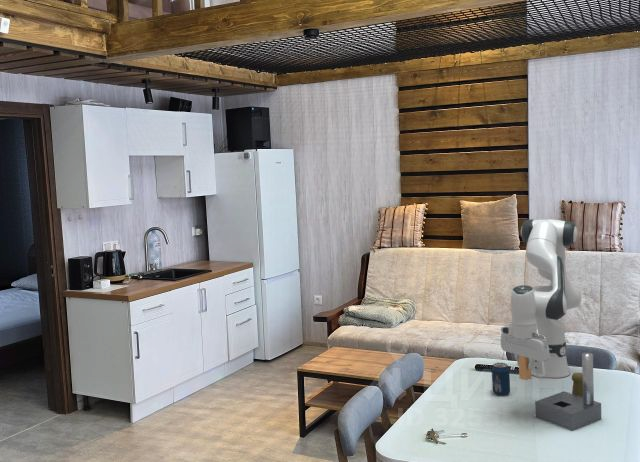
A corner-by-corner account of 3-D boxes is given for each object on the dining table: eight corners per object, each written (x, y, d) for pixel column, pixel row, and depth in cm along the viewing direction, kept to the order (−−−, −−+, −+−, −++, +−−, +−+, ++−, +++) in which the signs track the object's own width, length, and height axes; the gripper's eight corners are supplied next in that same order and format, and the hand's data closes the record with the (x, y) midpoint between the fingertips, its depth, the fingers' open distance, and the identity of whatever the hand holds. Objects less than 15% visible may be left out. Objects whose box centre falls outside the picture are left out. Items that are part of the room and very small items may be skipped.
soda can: (508, 390, 269) (507, 362, 267) (511, 396, 262) (510, 367, 261) (491, 390, 269) (490, 362, 268) (494, 396, 263) (493, 367, 261)
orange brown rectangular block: (519, 378, 239) (518, 351, 238) (525, 376, 241) (524, 350, 240) (525, 380, 237) (524, 353, 236) (531, 378, 238) (530, 351, 237)
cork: (589, 403, 249) (588, 376, 248) (572, 403, 250) (571, 376, 249) (586, 398, 255) (585, 370, 254) (569, 398, 256) (569, 370, 255)
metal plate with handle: (535, 417, 240) (533, 353, 237) (564, 406, 248) (562, 345, 246) (572, 430, 226) (570, 363, 224) (601, 419, 234) (600, 354, 232)
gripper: (553, 334, 230) (554, 372, 231) (509, 324, 247) (510, 359, 249) (540, 338, 226) (542, 376, 228) (497, 327, 244) (498, 362, 245)
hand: (525, 367), depth 238 cm, fingers closed on orange brown rectangular block, 3 cm apart
